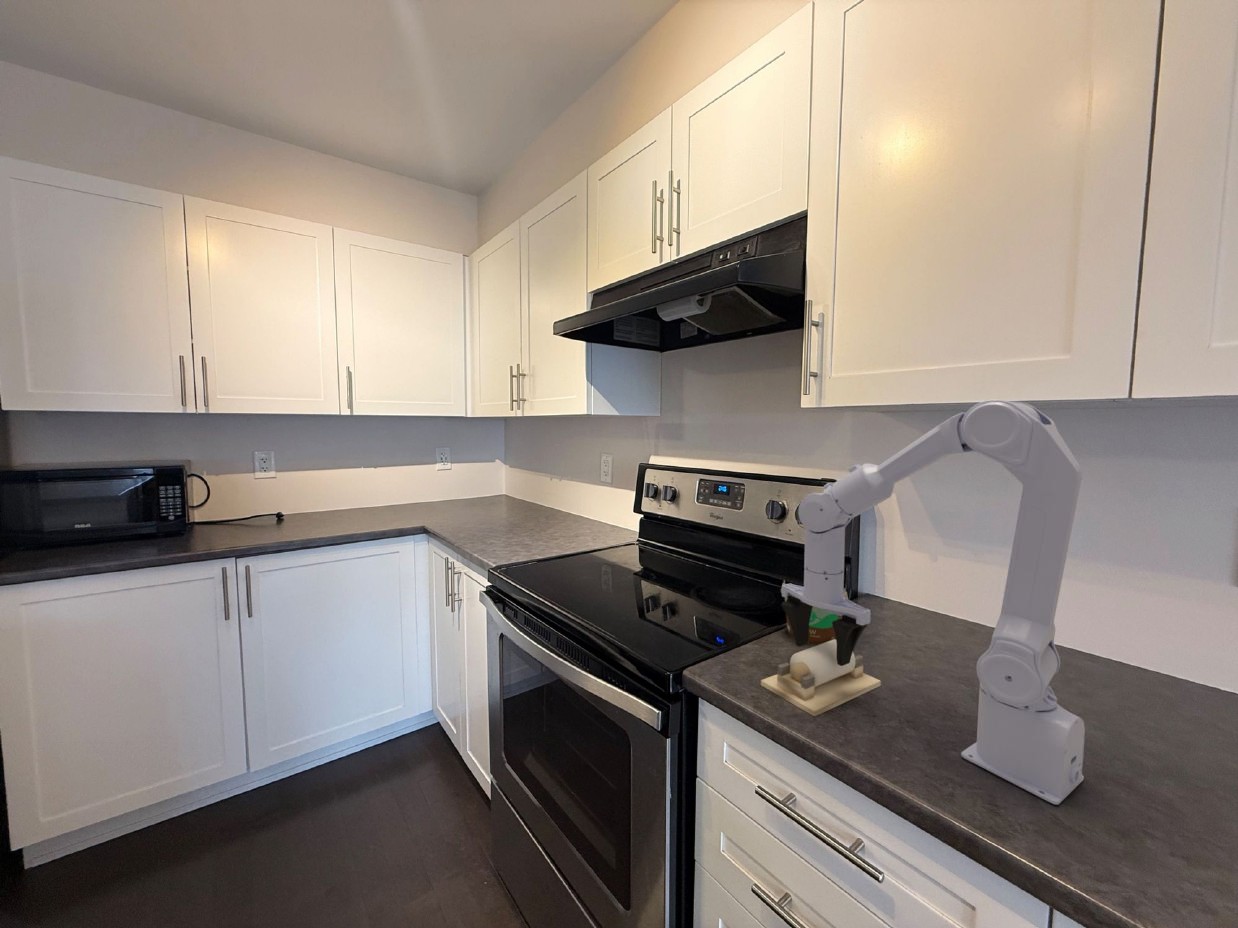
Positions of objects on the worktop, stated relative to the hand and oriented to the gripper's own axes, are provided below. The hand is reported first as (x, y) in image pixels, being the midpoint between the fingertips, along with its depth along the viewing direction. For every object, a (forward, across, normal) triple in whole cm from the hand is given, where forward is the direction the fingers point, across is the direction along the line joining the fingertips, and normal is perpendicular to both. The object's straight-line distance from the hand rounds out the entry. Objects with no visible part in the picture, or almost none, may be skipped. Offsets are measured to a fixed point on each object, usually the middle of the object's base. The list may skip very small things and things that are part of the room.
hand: (821, 653), depth 78 cm
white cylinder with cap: (+4, 0, 0) cm, 4 cm away
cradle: (+5, 0, 0) cm, 5 cm away
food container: (+5, +12, -13) cm, 19 cm away
